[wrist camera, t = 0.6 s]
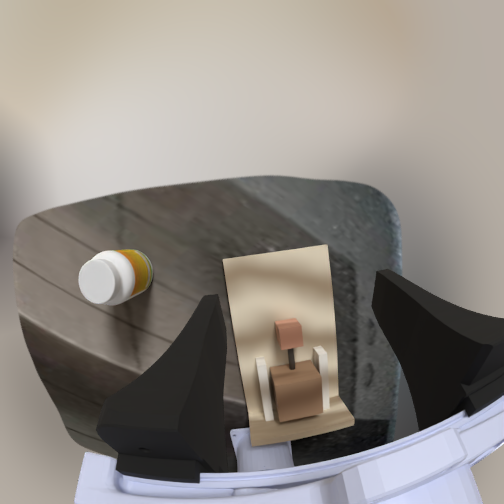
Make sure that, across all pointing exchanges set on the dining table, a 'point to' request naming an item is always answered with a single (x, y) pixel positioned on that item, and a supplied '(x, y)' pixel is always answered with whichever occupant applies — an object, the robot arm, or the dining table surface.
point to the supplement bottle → (115, 276)
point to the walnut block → (295, 377)
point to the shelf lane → (265, 338)
